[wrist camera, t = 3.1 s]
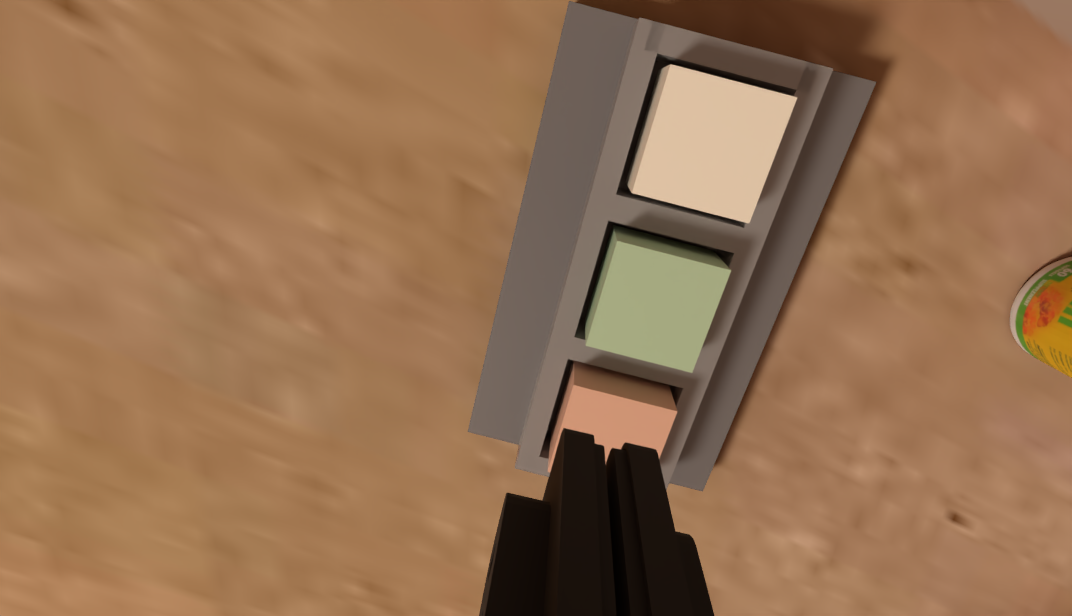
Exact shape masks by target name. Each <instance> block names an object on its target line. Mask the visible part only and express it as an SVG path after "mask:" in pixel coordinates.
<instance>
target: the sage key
mask: <svg viewBox="0 0 1072 616" xmlns="http://www.w3.org/2000/svg"><path fill="white" fill-rule="evenodd" d="M730 273H731V269H730V268H729V267H728V266H727V265H726V264H725V263H724V262H723V261H722V260H721V259H720V258H719V256H718V255H717V254H716V253H715V252H714V251H712V250H708V249H705V248H701V247H697V246H693V245H689V244H685V243H681V242H678V241H674V240H670V239H666V238H662V237H658V236H654V235H650V234H647V233H643V232H639V231H635V230H631V229H627V228H623V227H620V226H616V225H613V226H612V229H611V233H610V236H609V239H608V243H607V246H606V250H605V253H604V256H603V260H602V263H601V266H600V270H599V273H598V277H597V280H596V283H595V287H594V290H593V293H592V297H591V300H590V304H589V307H588V310H587V314H586V317H585V340H586V346H589V347H593V348H597V349H600V350H604V351H608V352H612V353H616V354H620V355H624V356H628V357H632V358H636V359H639V360H643V361H647V362H651V363H655V364H659V365H663V366H667V367H671V368H675V369H679V370H682V371H686V372H690V373H692V372H693V369H694V367H695V364H696V362H697V359H698V356H699V354H700V351H701V349H702V346H703V343H704V341H705V338H706V335H707V333H708V330H709V328H710V325H711V322H712V320H713V317H714V315H715V312H716V309H717V307H718V304H719V301H720V299H721V296H722V294H723V291H724V288H725V286H726V283H727V281H728V278H729V275H730Z"/></svg>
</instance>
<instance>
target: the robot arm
mask: <svg viewBox="0 0 1072 616" xmlns="http://www.w3.org/2000/svg"><path fill="white" fill-rule="evenodd" d="M479 616H714V613H713V609H712V605H711V601H710V597H709V594H708V590H707V586H706V582H705V578H704V575H703V571H702V567H701V563H700V559H699V556H698V552H697V548H696V545H695V542H694V540H693V538H692V537H691V536H690V535H688V534H684V533H680V532H675V528H674V523H673V519H672V514H671V510H670V505H669V501H668V497H667V492H666V488H665V483H664V479H663V474H662V470H661V465H660V461H659V456H658V453H657V450H656V449H653V448H648V447H644V446H640V445H635V444H631V443H627V442H625V443H624V444H623V446H622V448H621V449H616V448H612V449H611V450H610V453H609V455H608V458H607V462H606V463H605V449H604V446H603V445H599V444H595V440H594V435H592V434H588V433H584V432H579V431H575V430H571V429H566V428H563V430H562V433H561V436H560V439H559V443H558V447H557V450H556V454H555V457H554V461H553V464H552V468H551V472H550V475H549V479H548V482H547V486H546V490H545V493H544V497H543V500H542V501H541V500H537V499H532V498H528V497H524V496H519V495H515V494H511V493H506V497H505V500H504V504H503V508H502V512H501V516H500V520H499V524H498V528H497V532H496V536H495V541H494V545H493V550H492V554H491V559H490V563H489V568H488V573H487V578H486V583H485V588H484V593H483V598H482V604H481V609H480V614H479Z"/></svg>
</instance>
